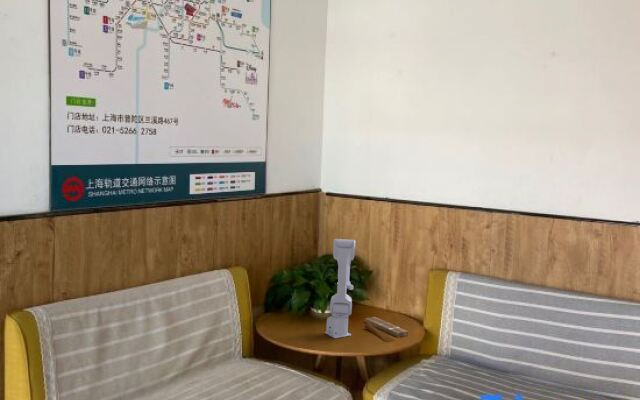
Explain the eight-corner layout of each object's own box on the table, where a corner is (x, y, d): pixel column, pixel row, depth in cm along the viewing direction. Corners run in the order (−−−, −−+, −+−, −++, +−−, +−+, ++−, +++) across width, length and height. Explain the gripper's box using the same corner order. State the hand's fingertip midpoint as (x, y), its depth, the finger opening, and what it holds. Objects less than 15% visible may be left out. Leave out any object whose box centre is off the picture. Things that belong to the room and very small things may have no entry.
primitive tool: (395, 341, 259) (396, 333, 258) (386, 343, 256) (386, 335, 255) (369, 328, 275) (370, 321, 275) (360, 330, 272) (361, 323, 272)
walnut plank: (397, 337, 263) (398, 332, 263) (365, 322, 283) (365, 318, 283) (407, 335, 267) (407, 331, 266) (374, 320, 286) (375, 316, 286)
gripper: (359, 276, 280) (357, 303, 281) (341, 269, 292) (340, 296, 293) (347, 277, 276) (345, 305, 277) (330, 271, 288) (328, 297, 289)
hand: (342, 300), depth 285 cm, fingers closed
